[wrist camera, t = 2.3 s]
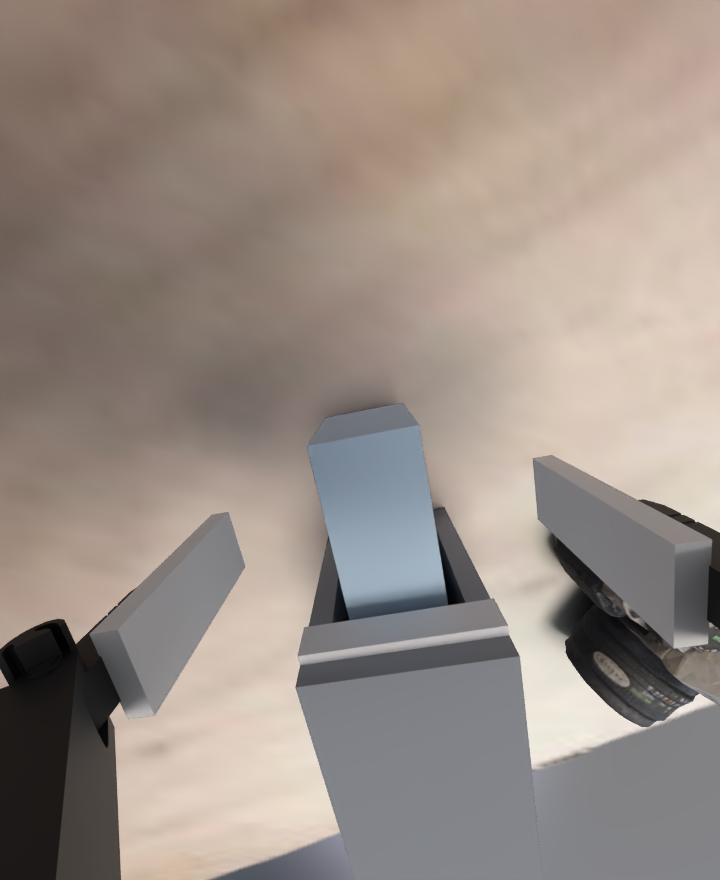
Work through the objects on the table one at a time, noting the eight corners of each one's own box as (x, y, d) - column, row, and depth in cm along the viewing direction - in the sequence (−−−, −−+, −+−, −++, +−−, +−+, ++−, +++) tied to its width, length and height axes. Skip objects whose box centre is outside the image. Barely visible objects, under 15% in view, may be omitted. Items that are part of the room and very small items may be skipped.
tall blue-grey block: (325, 417, 22) (306, 446, 15) (402, 402, 21) (419, 424, 14) (377, 644, 26) (380, 747, 19) (442, 635, 25) (469, 736, 19)
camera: (493, 595, 28) (560, 723, 18) (575, 497, 26) (703, 584, 16) (638, 678, 30) (770, 835, 20) (727, 593, 27) (925, 724, 18)
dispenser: (328, 521, 26) (292, 677, 14) (443, 501, 26) (518, 645, 13) (364, 668, 30) (362, 904, 17) (466, 653, 29) (543, 887, 16)
